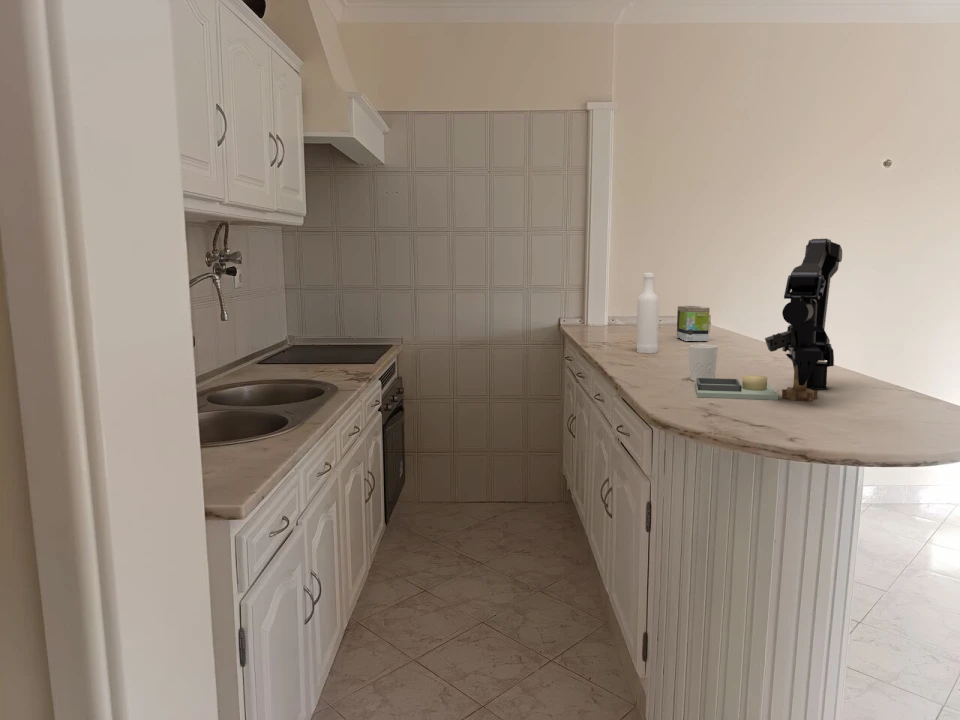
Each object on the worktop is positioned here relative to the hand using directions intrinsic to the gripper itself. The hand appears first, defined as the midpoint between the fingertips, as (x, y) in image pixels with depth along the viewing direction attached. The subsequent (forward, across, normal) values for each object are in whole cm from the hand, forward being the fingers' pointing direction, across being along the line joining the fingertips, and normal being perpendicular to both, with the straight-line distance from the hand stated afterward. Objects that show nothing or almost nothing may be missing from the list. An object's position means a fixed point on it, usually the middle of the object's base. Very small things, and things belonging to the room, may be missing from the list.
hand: (800, 384), depth 172 cm
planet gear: (+4, 0, 0) cm, 4 cm away
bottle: (+4, -83, -39) cm, 92 cm away
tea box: (+4, -126, -21) cm, 128 cm away
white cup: (+4, -23, -22) cm, 32 cm away
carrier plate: (+4, -5, -15) cm, 16 cm away
